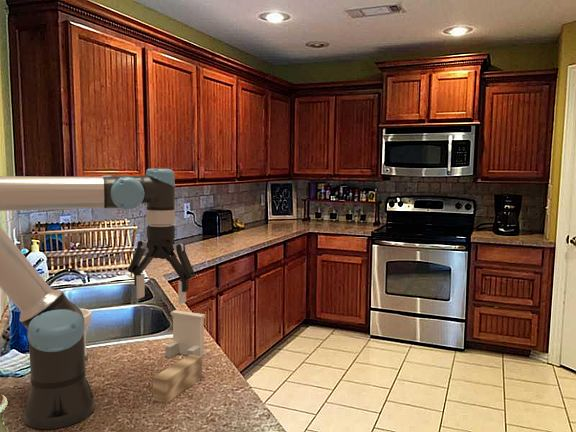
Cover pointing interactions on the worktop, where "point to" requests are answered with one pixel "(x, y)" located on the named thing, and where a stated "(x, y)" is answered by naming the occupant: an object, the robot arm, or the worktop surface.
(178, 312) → the headboard
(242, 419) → the worktop surface
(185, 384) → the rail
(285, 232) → the worktop surface
